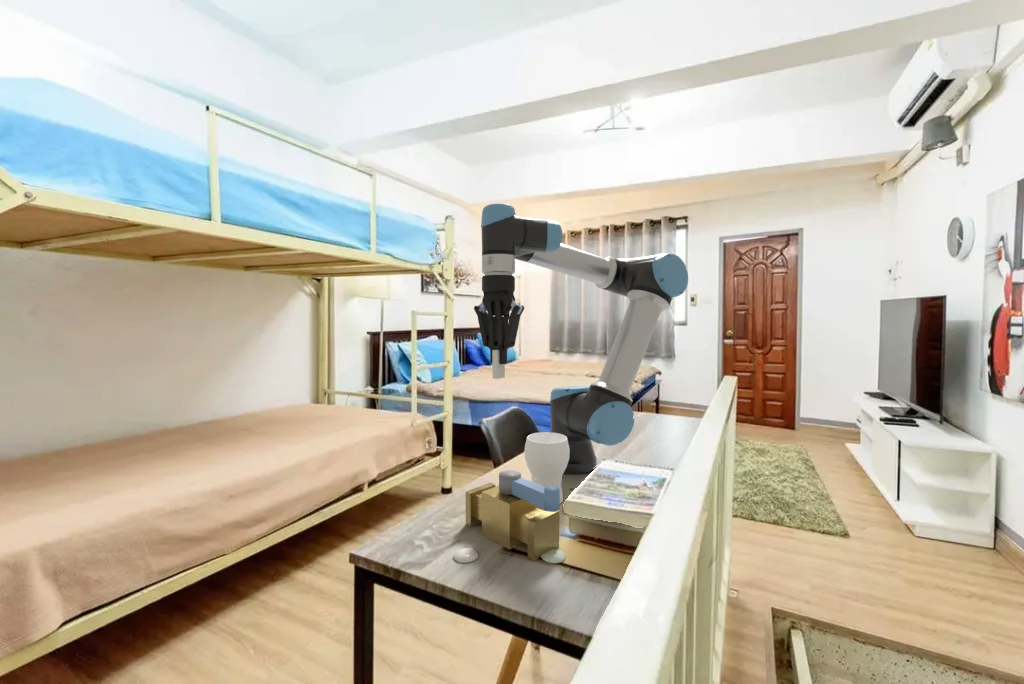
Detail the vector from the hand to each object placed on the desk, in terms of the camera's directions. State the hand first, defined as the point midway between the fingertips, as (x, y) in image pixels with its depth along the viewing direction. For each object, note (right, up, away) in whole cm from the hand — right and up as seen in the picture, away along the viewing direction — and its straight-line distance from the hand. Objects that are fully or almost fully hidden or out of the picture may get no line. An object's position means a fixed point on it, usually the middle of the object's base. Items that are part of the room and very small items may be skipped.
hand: (498, 377), depth 103 cm
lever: (+6, -21, -18) cm, 29 cm away
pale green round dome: (+11, -31, -22) cm, 39 cm away
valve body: (+3, -30, -14) cm, 33 cm away
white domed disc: (-5, -31, -21) cm, 38 cm away
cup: (+11, -29, +3) cm, 32 cm away
